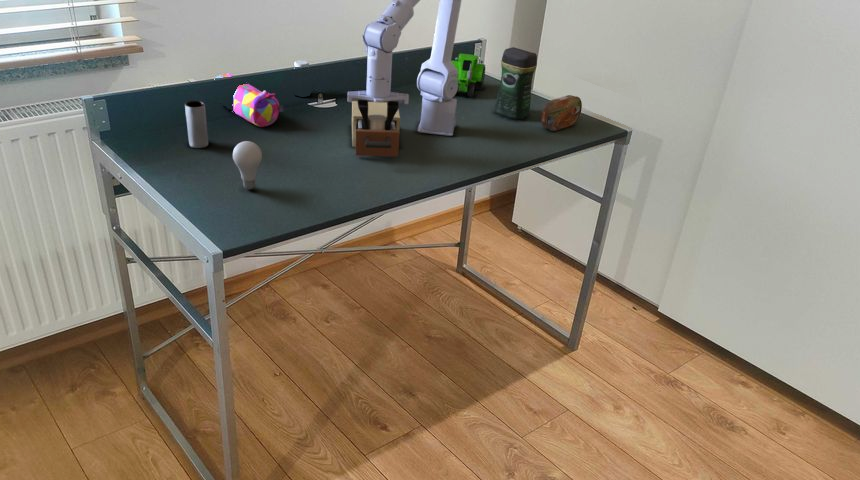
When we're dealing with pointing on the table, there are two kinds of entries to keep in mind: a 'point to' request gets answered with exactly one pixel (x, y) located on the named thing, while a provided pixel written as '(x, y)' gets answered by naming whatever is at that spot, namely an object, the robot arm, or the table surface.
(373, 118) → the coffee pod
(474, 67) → the toy tractor
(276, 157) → the table surface
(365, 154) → the drawer
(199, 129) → the planter
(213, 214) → the table surface
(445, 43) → the robot arm
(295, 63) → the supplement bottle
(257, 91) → the pencil case
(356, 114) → the wooden drawer cabinet
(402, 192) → the table surface
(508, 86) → the coffee jar
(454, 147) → the table surface
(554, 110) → the tin
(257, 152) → the lightbulb
